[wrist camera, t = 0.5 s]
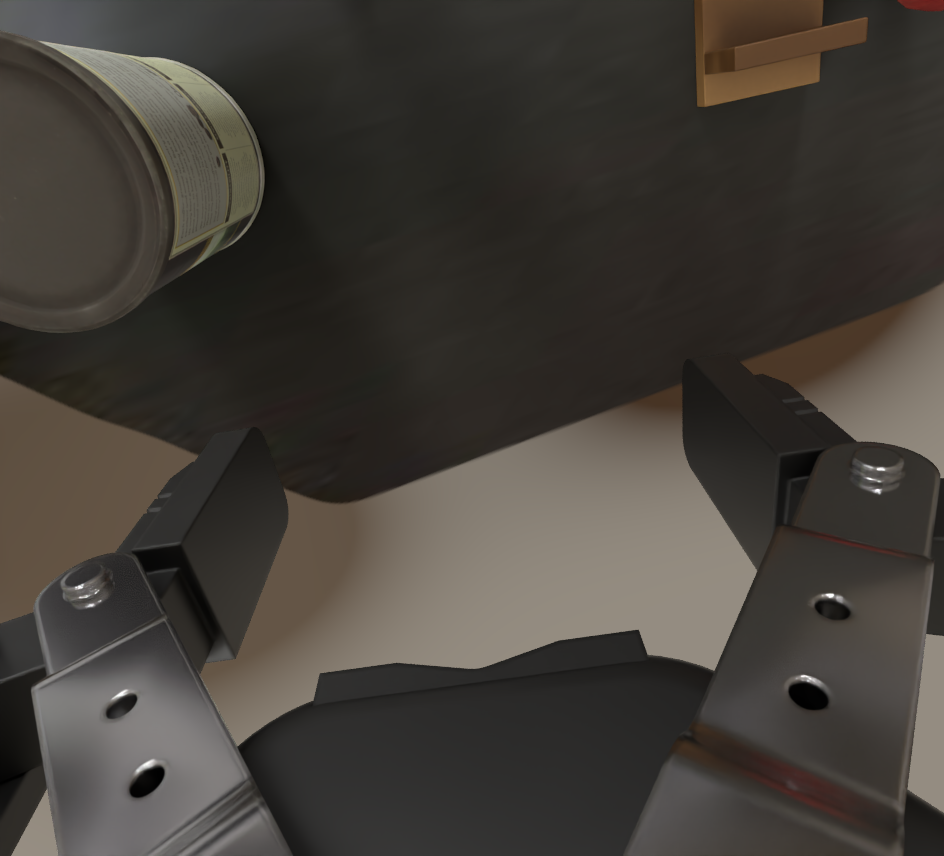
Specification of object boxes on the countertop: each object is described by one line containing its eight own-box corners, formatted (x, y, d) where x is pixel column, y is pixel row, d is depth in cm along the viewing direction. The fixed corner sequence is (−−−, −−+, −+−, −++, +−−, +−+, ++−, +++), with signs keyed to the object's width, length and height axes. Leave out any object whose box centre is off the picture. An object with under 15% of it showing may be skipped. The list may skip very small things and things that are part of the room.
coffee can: (229, 287, 38) (120, 377, 26) (55, 198, 35) (-162, 249, 23) (296, 126, 34) (205, 139, 22) (106, 12, 31) (-124, -49, 19)
